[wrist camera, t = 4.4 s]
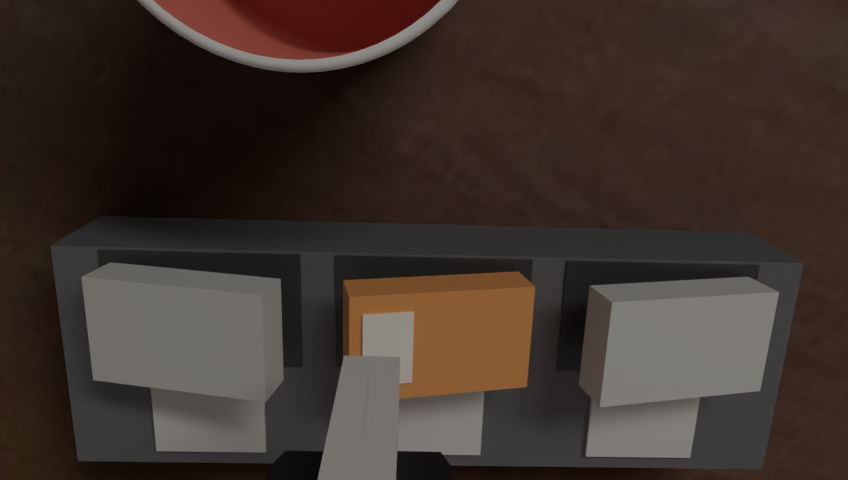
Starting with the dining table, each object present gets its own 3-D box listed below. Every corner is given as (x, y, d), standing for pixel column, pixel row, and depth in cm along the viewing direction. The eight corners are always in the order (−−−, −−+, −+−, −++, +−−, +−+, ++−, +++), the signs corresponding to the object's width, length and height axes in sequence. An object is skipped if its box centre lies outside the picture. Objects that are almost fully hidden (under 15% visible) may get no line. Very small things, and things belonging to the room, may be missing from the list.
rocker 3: (578, 384, 23) (599, 407, 22) (589, 285, 22) (612, 302, 21) (731, 370, 25) (760, 391, 23) (748, 276, 24) (779, 291, 22)
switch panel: (120, 405, 29) (75, 464, 25) (100, 215, 27) (47, 247, 23) (716, 414, 30) (765, 472, 26) (748, 231, 28) (806, 264, 24)
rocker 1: (120, 360, 24) (92, 379, 22) (110, 262, 23) (81, 276, 21) (283, 379, 23) (265, 402, 22) (280, 278, 22) (262, 295, 20)
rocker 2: (342, 381, 23) (349, 405, 22) (343, 280, 22) (349, 298, 20) (510, 366, 24) (527, 388, 23) (518, 271, 23) (536, 287, 22)
